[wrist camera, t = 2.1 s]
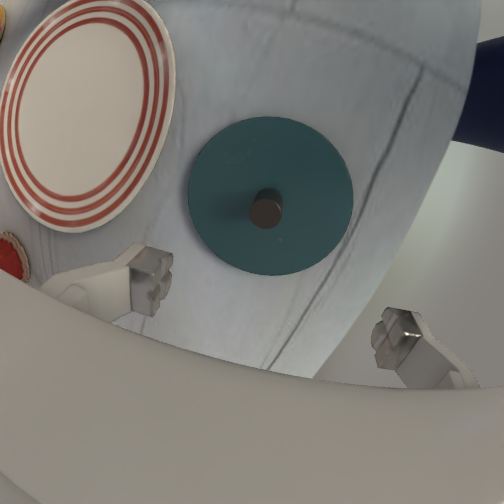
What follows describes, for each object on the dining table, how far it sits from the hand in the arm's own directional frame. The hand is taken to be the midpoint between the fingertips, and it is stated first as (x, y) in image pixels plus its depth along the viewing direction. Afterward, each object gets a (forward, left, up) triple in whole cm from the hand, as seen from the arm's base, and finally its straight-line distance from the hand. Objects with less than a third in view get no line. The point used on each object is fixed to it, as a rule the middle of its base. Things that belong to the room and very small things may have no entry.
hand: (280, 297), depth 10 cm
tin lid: (+1, +2, -15) cm, 15 cm away
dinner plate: (+24, +8, -16) cm, 30 cm away
